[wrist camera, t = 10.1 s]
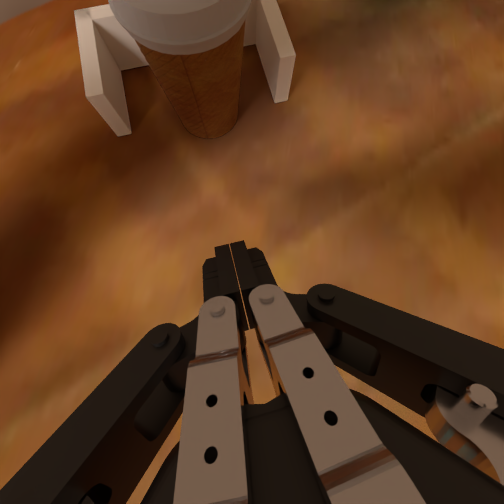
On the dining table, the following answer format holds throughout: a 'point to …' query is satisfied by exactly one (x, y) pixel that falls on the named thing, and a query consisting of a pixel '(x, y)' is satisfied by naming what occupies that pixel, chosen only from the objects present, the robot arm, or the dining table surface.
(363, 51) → the dining table surface
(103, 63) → the bay
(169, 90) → the disposable coffee cup
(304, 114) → the dining table surface
